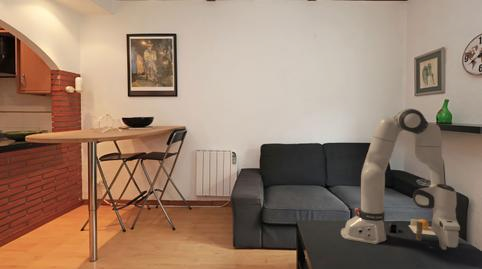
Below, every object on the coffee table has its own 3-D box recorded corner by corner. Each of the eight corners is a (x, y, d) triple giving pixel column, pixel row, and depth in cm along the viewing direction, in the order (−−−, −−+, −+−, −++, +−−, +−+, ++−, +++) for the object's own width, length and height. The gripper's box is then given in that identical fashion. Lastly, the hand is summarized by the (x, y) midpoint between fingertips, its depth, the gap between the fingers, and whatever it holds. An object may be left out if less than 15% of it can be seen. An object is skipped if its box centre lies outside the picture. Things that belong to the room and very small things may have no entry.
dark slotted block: (401, 236, 158) (401, 228, 157) (386, 234, 161) (386, 226, 160) (398, 228, 169) (399, 220, 169) (384, 226, 172) (385, 219, 172)
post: (417, 240, 152) (417, 223, 151) (415, 238, 154) (416, 221, 154) (422, 240, 151) (423, 223, 150) (421, 238, 154) (421, 221, 153)
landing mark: (414, 233, 160) (414, 233, 160) (408, 225, 172) (408, 225, 172) (439, 235, 157) (439, 235, 157) (431, 227, 169) (431, 226, 169)
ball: (416, 227, 170) (420, 230, 164) (415, 218, 170) (419, 220, 165) (427, 227, 168) (431, 230, 163) (426, 218, 169) (430, 220, 163)
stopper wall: (411, 225, 172) (411, 220, 172) (410, 224, 174) (410, 219, 174) (425, 226, 170) (425, 221, 170) (424, 225, 172) (424, 220, 172)
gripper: (428, 212, 149) (427, 238, 150) (445, 227, 129) (444, 257, 130) (442, 212, 147) (441, 239, 148) (462, 228, 127) (460, 259, 128)
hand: (442, 248), depth 139 cm, fingers closed
